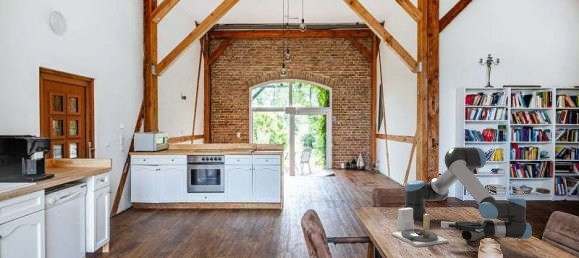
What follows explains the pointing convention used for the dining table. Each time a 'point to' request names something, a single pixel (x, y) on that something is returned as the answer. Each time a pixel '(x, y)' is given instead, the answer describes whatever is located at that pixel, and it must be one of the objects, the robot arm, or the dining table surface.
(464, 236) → the thermos bottle
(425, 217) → the cam dial
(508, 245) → the dining table surface
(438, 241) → the base plate
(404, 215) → the cylinder with rectangular tab
